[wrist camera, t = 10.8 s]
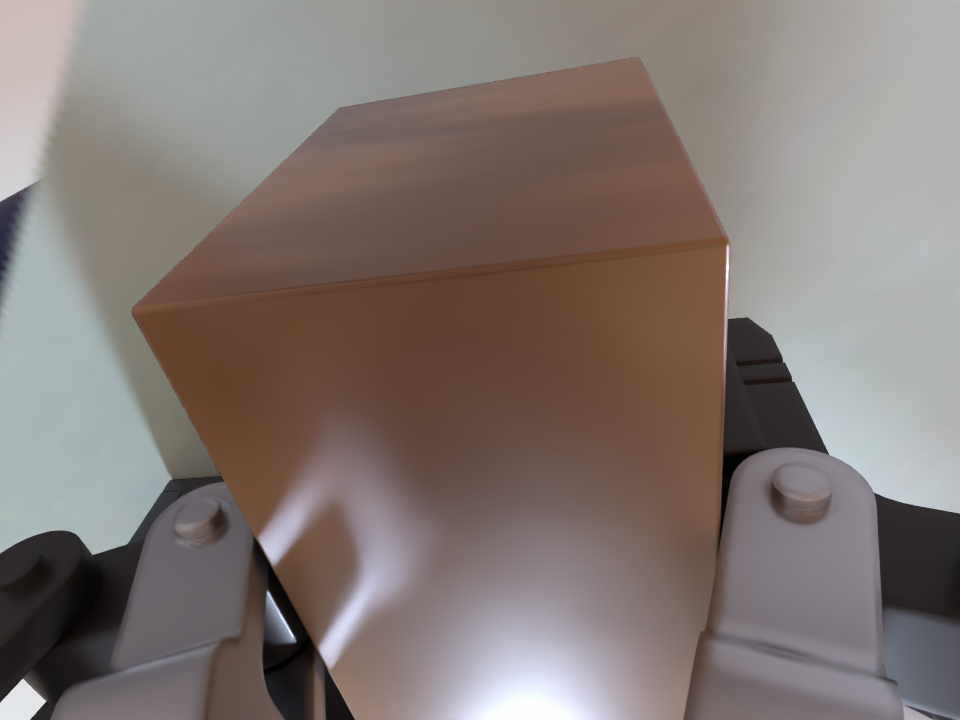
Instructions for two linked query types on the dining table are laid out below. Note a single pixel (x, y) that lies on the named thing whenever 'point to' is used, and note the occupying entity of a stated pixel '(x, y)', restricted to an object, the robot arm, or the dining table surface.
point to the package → (474, 395)
